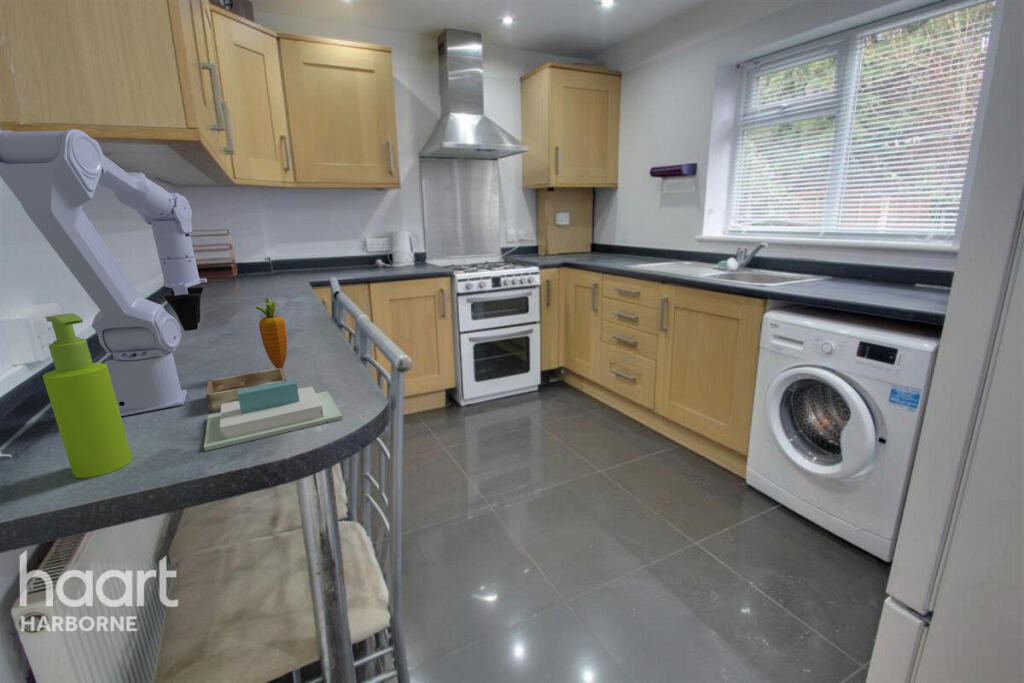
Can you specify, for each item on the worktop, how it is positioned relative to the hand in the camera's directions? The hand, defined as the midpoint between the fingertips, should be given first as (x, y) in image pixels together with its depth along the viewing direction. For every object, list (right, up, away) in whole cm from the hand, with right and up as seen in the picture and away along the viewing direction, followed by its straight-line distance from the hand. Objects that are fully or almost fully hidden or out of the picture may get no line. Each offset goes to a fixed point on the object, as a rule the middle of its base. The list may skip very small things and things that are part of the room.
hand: (192, 326), depth 94 cm
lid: (+27, -14, -21) cm, 37 cm away
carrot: (+16, -9, +4) cm, 19 cm away
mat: (+27, -15, -21) cm, 37 cm away
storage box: (+17, -13, -11) cm, 24 cm away
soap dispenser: (+12, -19, -34) cm, 41 cm away
